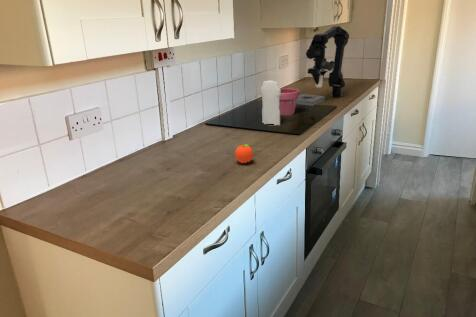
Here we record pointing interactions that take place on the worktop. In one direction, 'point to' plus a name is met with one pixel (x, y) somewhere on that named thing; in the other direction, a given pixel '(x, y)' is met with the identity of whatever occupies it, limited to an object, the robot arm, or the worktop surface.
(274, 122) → the tall pale column
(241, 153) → the clementine
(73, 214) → the worktop surface
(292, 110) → the plant pot
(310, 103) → the hole plate
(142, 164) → the worktop surface
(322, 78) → the peg
